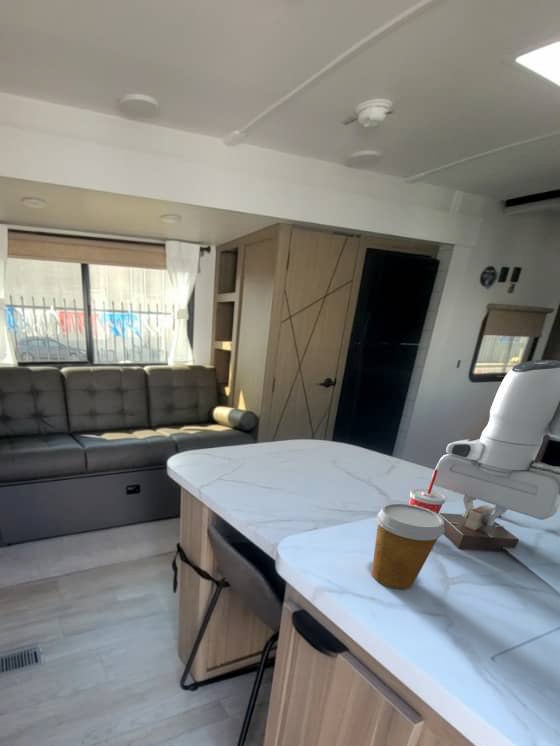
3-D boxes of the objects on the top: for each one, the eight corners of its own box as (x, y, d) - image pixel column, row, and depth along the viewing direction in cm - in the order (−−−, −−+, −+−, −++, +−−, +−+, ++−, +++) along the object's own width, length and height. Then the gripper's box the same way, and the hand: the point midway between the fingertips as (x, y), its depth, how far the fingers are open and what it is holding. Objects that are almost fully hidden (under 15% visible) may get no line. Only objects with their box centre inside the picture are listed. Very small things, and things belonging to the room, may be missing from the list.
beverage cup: (431, 545, 79) (455, 478, 73) (397, 536, 82) (417, 471, 76) (432, 533, 84) (455, 468, 78) (400, 525, 86) (419, 462, 80)
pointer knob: (478, 519, 83) (484, 503, 81) (488, 523, 82) (495, 506, 80) (464, 526, 80) (471, 509, 78) (474, 530, 79) (481, 513, 77)
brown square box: (483, 528, 86) (488, 515, 85) (514, 553, 77) (520, 538, 76) (433, 524, 87) (437, 511, 86) (458, 549, 78) (463, 534, 76)
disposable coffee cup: (436, 586, 66) (460, 520, 61) (400, 602, 62) (423, 534, 57) (384, 558, 74) (402, 498, 69) (349, 571, 70) (365, 508, 64)
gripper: (583, 468, 68) (548, 539, 74) (455, 438, 84) (434, 499, 90) (569, 474, 65) (534, 548, 71) (439, 442, 80) (419, 505, 86)
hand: (477, 521), depth 80 cm, fingers closed on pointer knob, 2 cm apart
